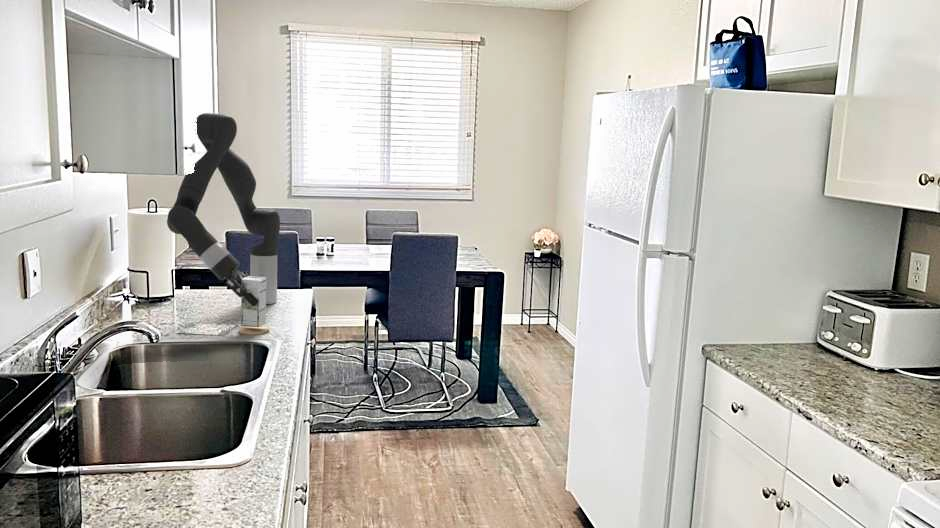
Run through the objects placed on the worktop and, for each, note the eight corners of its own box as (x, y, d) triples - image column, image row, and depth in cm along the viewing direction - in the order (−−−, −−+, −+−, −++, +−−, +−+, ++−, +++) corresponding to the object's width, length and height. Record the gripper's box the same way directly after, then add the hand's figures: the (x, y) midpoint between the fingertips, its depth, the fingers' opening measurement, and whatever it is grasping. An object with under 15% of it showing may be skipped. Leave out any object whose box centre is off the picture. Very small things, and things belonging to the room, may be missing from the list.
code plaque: (192, 322, 228) (192, 322, 227) (237, 324, 228) (237, 324, 228) (174, 333, 214) (174, 333, 214) (223, 335, 214) (223, 335, 214)
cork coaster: (243, 327, 225) (243, 325, 225) (272, 328, 226) (272, 326, 226) (234, 334, 217) (234, 332, 216) (265, 335, 217) (265, 333, 217)
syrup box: (266, 323, 224) (267, 276, 221) (259, 327, 218) (259, 279, 216) (248, 322, 224) (248, 275, 222) (240, 326, 218) (240, 278, 216)
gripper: (221, 255, 210) (262, 298, 212) (236, 249, 225) (274, 289, 227) (202, 273, 211) (243, 315, 213) (218, 265, 225) (257, 305, 227)
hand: (259, 301), depth 220 cm, fingers closed on syrup box, 6 cm apart
